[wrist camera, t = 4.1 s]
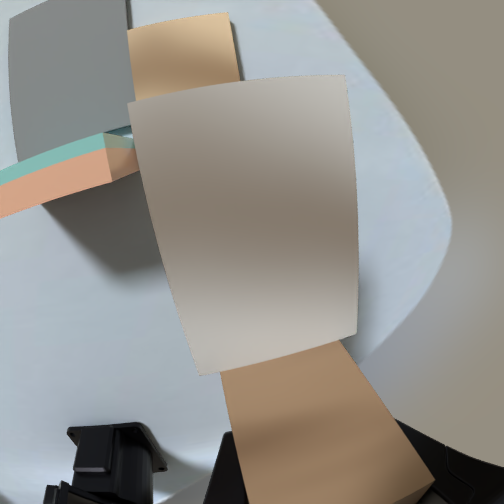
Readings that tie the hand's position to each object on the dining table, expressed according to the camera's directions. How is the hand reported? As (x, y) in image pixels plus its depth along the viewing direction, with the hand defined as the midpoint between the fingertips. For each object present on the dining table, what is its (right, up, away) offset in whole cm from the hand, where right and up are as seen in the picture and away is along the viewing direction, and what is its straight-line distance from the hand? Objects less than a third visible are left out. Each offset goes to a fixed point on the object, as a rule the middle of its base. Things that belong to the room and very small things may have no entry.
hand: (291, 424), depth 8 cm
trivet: (-11, +15, +4) cm, 18 cm away
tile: (-10, +9, +6) cm, 14 cm away
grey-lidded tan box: (-1, +3, 0) cm, 3 cm away
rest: (-4, +13, +6) cm, 15 cm away
